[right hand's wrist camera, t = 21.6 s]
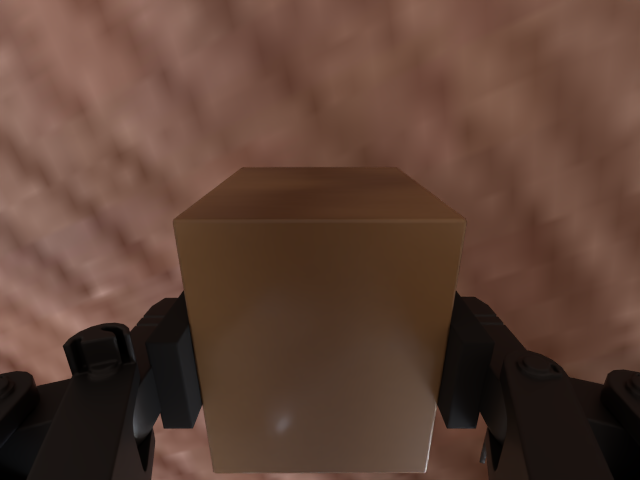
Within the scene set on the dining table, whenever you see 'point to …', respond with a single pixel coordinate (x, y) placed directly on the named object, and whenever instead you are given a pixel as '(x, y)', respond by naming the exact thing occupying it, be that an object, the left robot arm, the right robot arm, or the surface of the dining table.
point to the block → (319, 317)
